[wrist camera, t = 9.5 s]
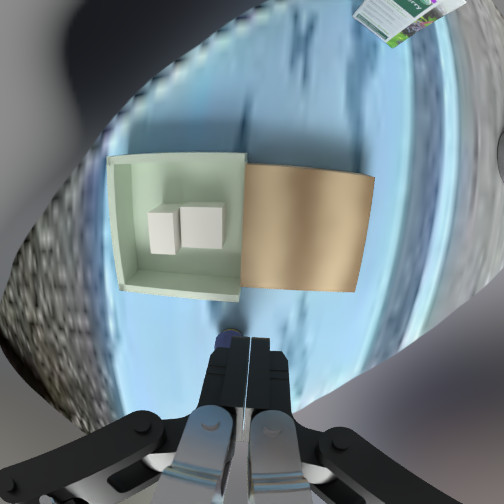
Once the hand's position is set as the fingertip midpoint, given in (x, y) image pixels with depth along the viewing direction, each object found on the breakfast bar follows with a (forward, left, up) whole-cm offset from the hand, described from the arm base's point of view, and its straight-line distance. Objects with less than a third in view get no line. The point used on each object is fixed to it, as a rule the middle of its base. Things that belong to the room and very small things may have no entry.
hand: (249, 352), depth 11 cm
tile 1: (+5, 0, -19) cm, 19 cm away
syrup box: (-12, -25, -19) cm, 34 cm away
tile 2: (+8, 0, -17) cm, 18 cm away
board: (-4, 0, -19) cm, 20 cm away
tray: (+8, 0, -19) cm, 21 cm away
